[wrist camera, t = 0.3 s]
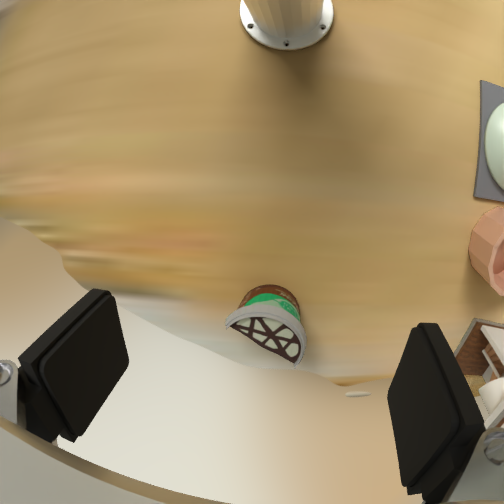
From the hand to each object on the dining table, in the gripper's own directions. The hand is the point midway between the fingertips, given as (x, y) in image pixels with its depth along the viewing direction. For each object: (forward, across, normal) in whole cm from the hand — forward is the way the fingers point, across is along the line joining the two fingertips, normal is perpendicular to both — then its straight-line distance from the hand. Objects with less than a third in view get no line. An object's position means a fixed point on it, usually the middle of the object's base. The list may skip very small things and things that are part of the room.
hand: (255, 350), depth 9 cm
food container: (+36, +1, +19) cm, 41 cm away
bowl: (+36, -35, +7) cm, 51 cm away
